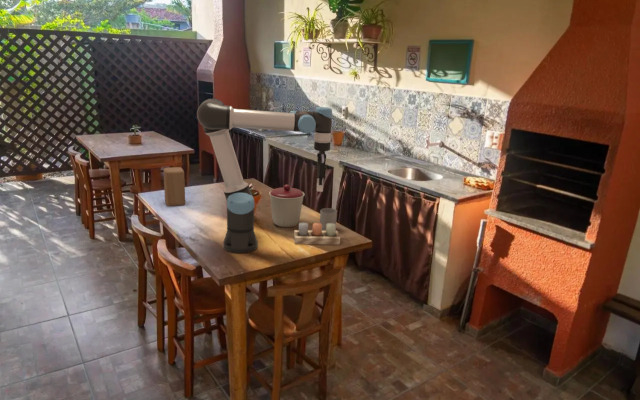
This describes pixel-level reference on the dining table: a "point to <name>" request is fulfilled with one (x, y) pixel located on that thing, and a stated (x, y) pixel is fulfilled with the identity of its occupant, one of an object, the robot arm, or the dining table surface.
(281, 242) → the dining table surface
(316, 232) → the brown egg
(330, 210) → the cup
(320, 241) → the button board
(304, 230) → the grey egg
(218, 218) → the dining table surface
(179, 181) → the block
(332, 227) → the pale green egg
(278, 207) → the canister
